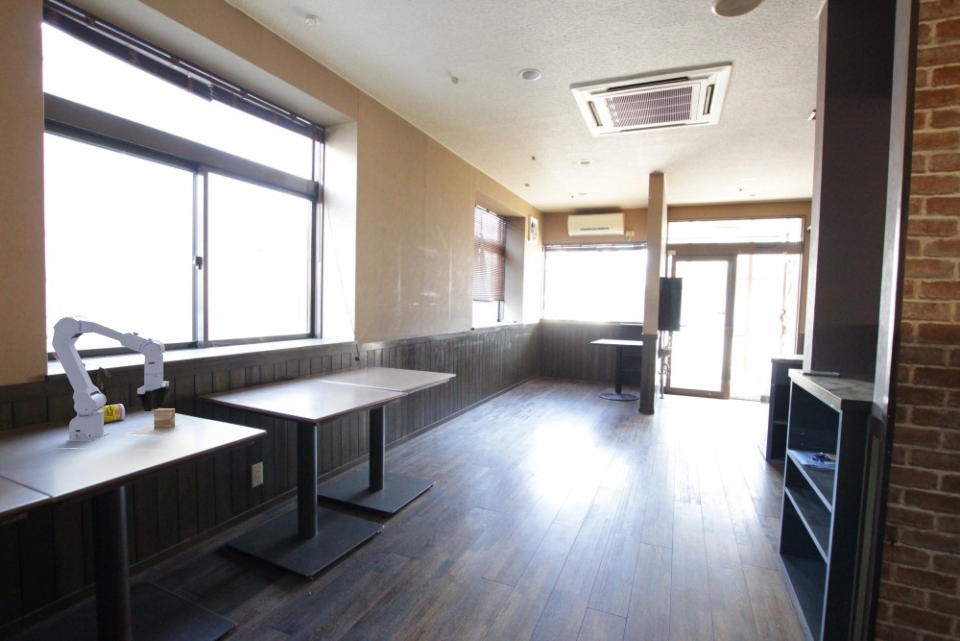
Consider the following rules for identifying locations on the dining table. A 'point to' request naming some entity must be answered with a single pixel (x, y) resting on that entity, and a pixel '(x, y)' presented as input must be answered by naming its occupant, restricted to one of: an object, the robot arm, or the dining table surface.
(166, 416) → the oak block
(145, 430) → the grey mat
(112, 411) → the supplement bottle
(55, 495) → the dining table surface
